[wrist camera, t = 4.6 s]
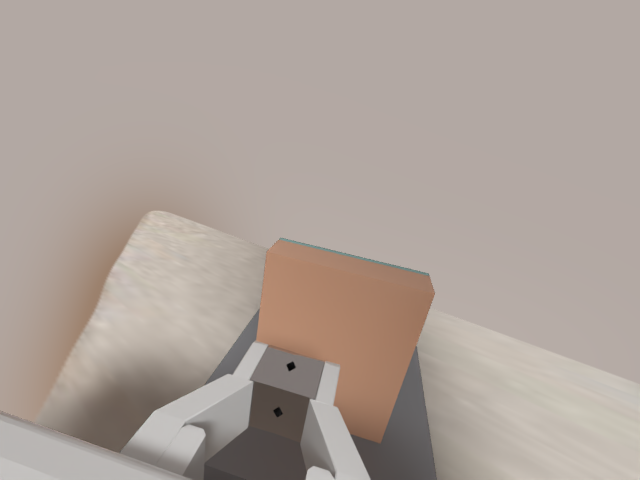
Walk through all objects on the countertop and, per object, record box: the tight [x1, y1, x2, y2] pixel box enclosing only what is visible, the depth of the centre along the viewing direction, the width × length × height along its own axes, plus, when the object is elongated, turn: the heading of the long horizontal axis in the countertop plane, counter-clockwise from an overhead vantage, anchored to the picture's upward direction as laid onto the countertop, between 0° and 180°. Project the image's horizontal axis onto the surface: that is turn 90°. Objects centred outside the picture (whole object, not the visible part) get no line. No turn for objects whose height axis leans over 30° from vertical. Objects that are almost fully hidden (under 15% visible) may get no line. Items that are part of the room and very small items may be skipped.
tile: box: [256, 238, 435, 443], centre depth 17 cm, size 8×2×10 cm, turn 78°
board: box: [203, 308, 437, 480], centre depth 23 cm, size 14×18×2 cm
